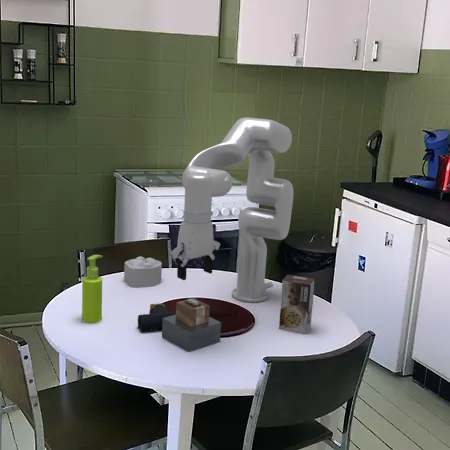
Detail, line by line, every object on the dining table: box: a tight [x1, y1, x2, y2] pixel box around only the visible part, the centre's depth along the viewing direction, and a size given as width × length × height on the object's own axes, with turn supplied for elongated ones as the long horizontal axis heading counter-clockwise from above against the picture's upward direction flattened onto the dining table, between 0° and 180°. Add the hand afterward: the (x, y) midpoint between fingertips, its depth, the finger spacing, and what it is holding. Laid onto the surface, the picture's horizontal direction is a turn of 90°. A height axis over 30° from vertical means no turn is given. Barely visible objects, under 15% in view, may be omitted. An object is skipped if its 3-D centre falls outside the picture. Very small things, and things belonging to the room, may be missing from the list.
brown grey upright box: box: [278, 274, 316, 335], centre depth 201 cm, size 9×6×16 cm
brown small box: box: [175, 297, 210, 327], centre depth 188 cm, size 6×7×5 cm
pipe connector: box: [137, 303, 176, 333], centre depth 200 cm, size 12×5×15 cm
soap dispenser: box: [81, 254, 104, 324], centre depth 198 cm, size 6×7×20 cm
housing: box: [161, 298, 222, 353], centre depth 189 cm, size 12×12×12 cm
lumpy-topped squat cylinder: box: [123, 256, 163, 289], centre depth 235 cm, size 10×13×9 cm
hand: (194, 275), depth 186 cm, fingers open, 9 cm apart
